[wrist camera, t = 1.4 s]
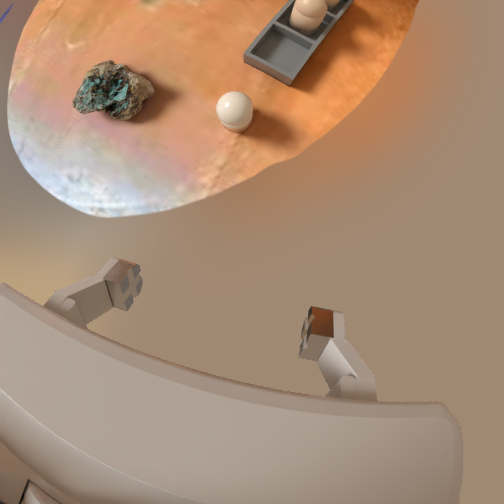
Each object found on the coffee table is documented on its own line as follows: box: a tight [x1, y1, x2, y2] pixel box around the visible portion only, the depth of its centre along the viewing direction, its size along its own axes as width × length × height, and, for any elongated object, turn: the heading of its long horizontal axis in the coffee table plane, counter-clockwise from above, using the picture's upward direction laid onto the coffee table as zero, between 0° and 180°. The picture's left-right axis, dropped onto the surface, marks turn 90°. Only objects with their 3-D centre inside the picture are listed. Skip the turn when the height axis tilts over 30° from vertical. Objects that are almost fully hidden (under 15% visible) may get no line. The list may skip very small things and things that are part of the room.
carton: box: [244, 0, 354, 86], centre depth 26 cm, size 8×22×9 cm, turn 149°
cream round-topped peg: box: [216, 91, 253, 132], centre depth 31 cm, size 4×4×8 cm
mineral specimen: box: [73, 60, 154, 120], centre depth 30 cm, size 12×9×8 cm
